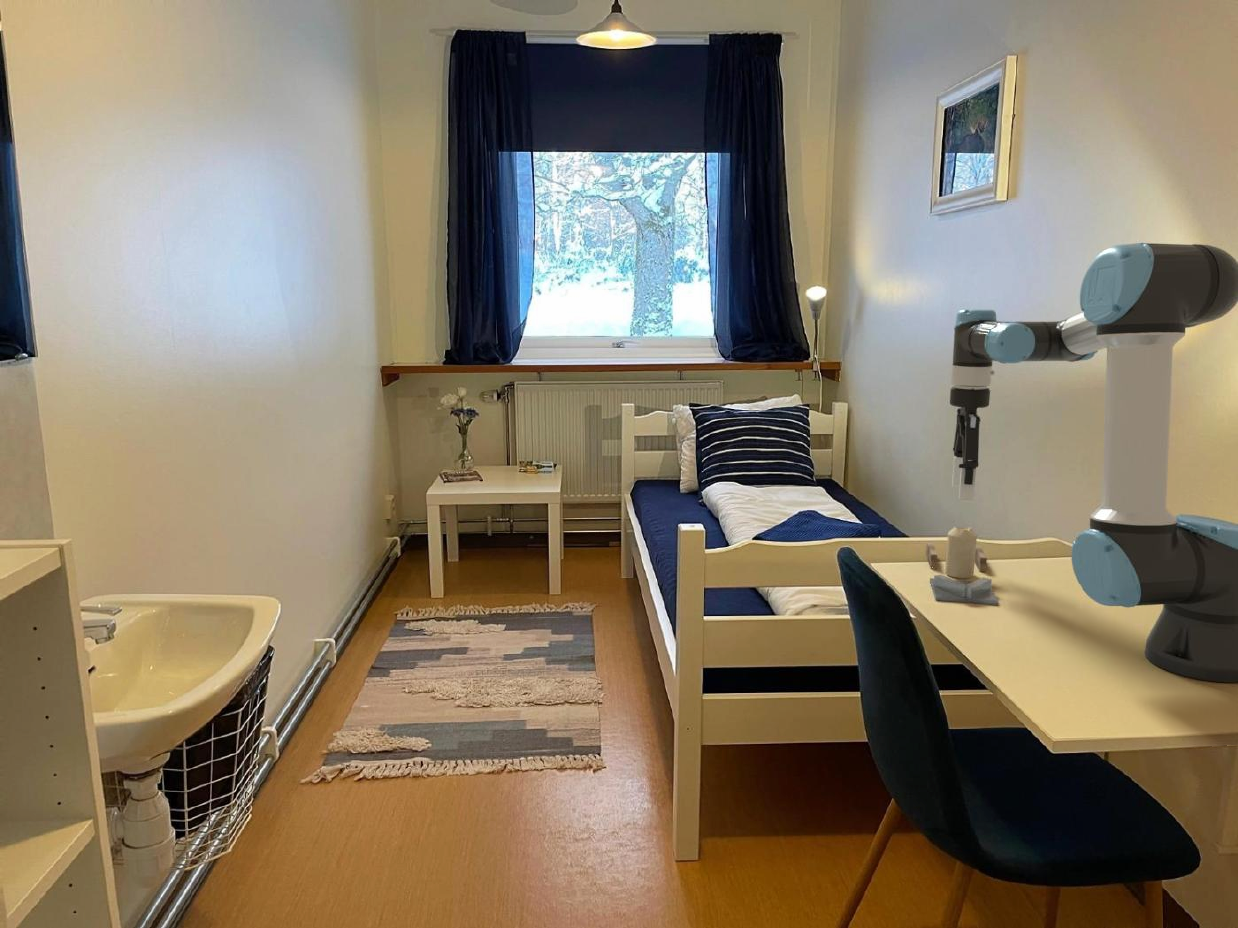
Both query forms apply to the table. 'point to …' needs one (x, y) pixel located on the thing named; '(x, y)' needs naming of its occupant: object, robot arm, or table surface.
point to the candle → (961, 552)
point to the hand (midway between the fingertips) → (962, 493)
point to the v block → (963, 590)
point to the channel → (979, 557)
